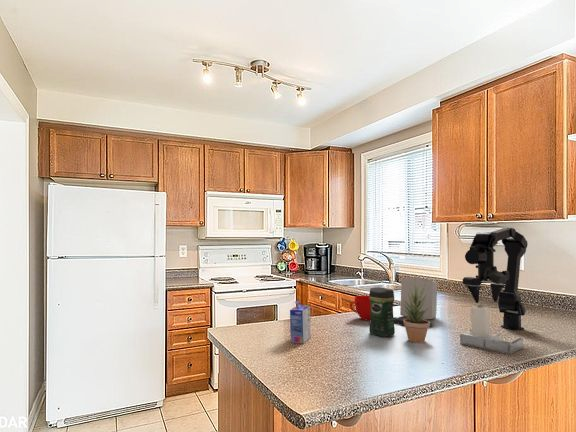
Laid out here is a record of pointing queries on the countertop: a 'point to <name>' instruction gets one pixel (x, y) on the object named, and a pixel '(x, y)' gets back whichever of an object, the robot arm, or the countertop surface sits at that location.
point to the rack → (491, 343)
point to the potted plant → (416, 317)
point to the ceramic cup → (362, 307)
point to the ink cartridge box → (300, 323)
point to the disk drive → (400, 319)
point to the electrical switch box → (429, 299)
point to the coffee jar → (381, 312)
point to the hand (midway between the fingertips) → (486, 302)
